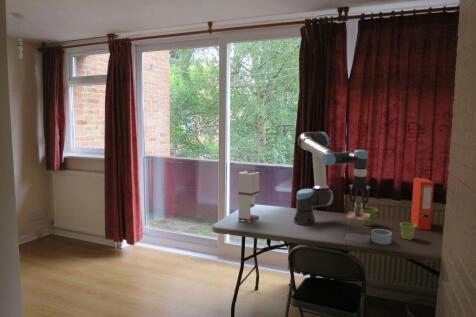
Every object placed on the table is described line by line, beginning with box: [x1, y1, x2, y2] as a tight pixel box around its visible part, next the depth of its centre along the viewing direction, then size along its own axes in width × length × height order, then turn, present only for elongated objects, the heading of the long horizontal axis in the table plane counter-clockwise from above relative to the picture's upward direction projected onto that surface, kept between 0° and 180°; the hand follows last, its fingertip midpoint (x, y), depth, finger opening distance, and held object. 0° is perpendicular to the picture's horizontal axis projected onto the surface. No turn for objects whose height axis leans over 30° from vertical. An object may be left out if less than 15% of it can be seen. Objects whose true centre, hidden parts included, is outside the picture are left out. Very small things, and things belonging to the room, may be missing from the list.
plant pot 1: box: [361, 206, 379, 226], centre depth 241 cm, size 12×12×11 cm
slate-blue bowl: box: [370, 228, 393, 245], centre depth 208 cm, size 11×11×6 cm
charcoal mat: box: [343, 232, 371, 244], centre depth 214 cm, size 14×14×1 cm
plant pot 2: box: [399, 222, 417, 241], centre depth 214 cm, size 9×9×9 cm
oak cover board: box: [345, 204, 370, 221], centre depth 212 cm, size 13×13×7 cm
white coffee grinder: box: [238, 170, 260, 223], centre depth 252 cm, size 11×11×35 cm
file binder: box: [410, 177, 435, 231], centre depth 237 cm, size 8×17×32 cm, turn 167°
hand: (358, 213), depth 212 cm, fingers closed on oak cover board, 3 cm apart
